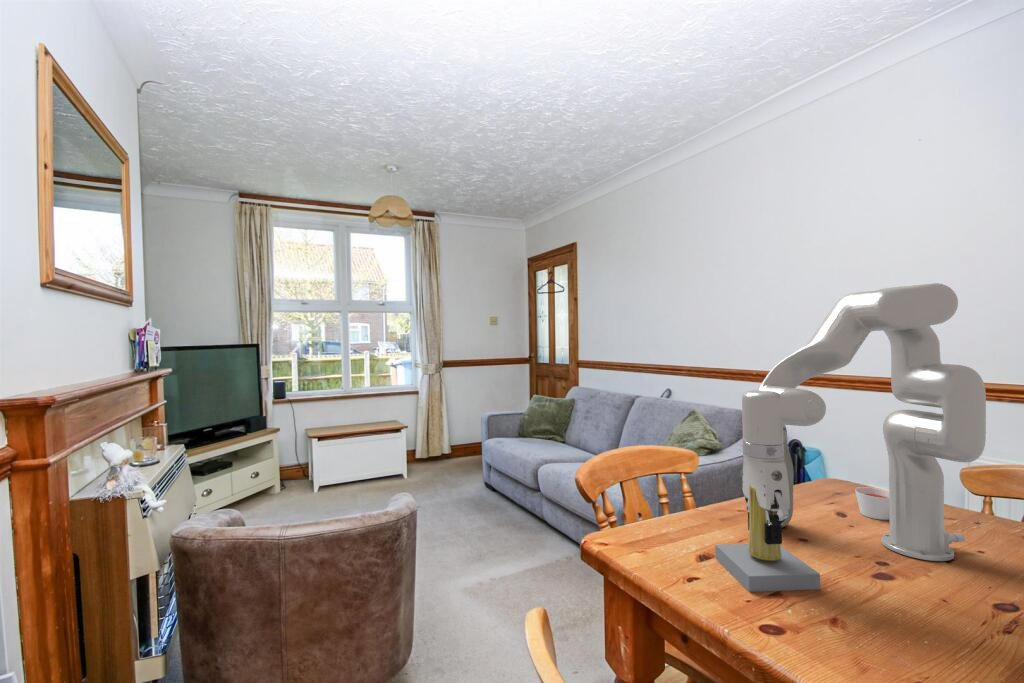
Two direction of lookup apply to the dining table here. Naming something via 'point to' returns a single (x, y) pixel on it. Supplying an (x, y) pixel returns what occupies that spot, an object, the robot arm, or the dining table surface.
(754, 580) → the plinth
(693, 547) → the dining table surface
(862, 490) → the candle
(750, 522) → the vase
